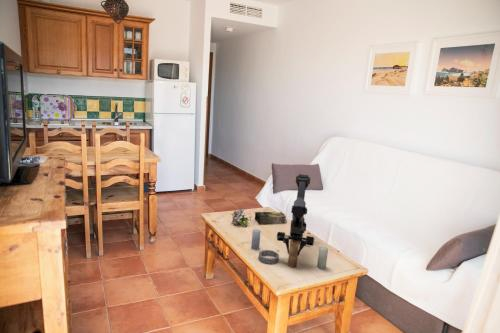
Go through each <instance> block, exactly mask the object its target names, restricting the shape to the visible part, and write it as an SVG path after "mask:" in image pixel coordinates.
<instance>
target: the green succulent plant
mask: <svg viewBox="0 0 500 333" xmlns="http://www.w3.org/2000/svg"><path fill="white" fill-rule="evenodd" d="M244 211H245V209H244V208H243V209H239V210H234V211H233V213H232V214H231V215H232V221H233V223H232V224H233V225H236V224H237V223H238V222H240V226H241V227H242V228H244V226H245V227H246V226H247V225H248V223H249V221H250V222H251V221H252V218H251V216H249V217H245V213H244Z"/></svg>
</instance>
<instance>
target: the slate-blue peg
mask: <svg viewBox="0 0 500 333" xmlns="http://www.w3.org/2000/svg"><path fill="white" fill-rule="evenodd" d="M251 235H252V236H251V246H250V247H251V249H253V250H259V249H260V245H261V244H260V243H261V230H260V229H258V228H256V229H254V228H253V230H252V234H251Z"/></svg>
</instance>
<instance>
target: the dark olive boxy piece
mask: <svg viewBox="0 0 500 333" xmlns="http://www.w3.org/2000/svg"><path fill="white" fill-rule="evenodd" d="M255 219H256V220H258V224H259V225H262V224H263V225H280V224H281V225H283V224H284V225H285V224H286V223H287V215H285V213H283V212H282V211H256V212H254V220H255Z"/></svg>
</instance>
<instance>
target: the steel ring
mask: <svg viewBox="0 0 500 333" xmlns="http://www.w3.org/2000/svg"><path fill="white" fill-rule="evenodd" d="M265 256H270V257H273V258H270V257H265ZM279 258H280V254H279V253H278V252H276V251H274V250H269V249H264V250H260V251H259V252H258V259H257V260H258V261H260V262H261V263H263V264H268V265H275V264H277V263H278V262H279Z"/></svg>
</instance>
